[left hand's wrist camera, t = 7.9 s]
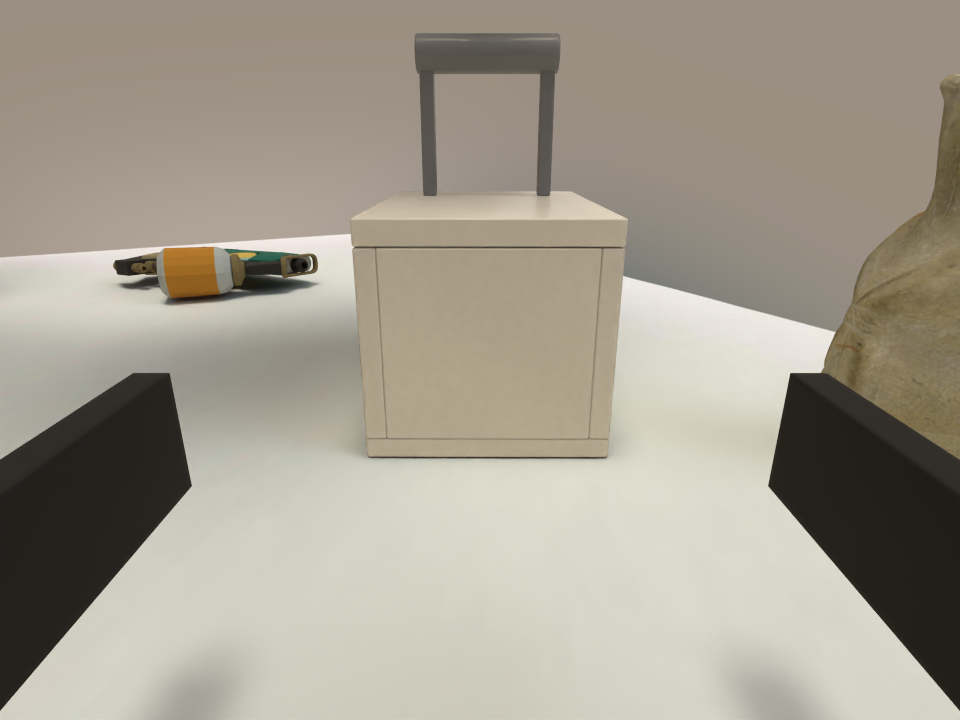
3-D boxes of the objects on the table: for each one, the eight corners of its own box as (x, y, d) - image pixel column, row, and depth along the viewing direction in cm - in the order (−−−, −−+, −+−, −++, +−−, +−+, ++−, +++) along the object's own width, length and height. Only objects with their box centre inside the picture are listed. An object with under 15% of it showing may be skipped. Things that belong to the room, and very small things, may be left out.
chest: (406, 352, 38) (400, 211, 34) (565, 352, 37) (572, 211, 34) (367, 457, 25) (351, 248, 22) (607, 457, 25) (626, 248, 22)
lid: (401, 209, 35) (394, 44, 32) (570, 209, 35) (579, 44, 32) (351, 246, 22) (330, -32, 19) (626, 247, 22) (649, -32, 19)
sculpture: (1055, 504, 21) (1240, 41, 16) (840, 484, 22) (947, 48, 17) (962, 432, 27) (1078, 68, 21) (793, 419, 28) (864, 72, 23)
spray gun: (112, 285, 58) (262, 271, 67) (153, 308, 46) (328, 287, 55) (104, 242, 57) (257, 234, 66) (143, 253, 44) (324, 241, 54)
